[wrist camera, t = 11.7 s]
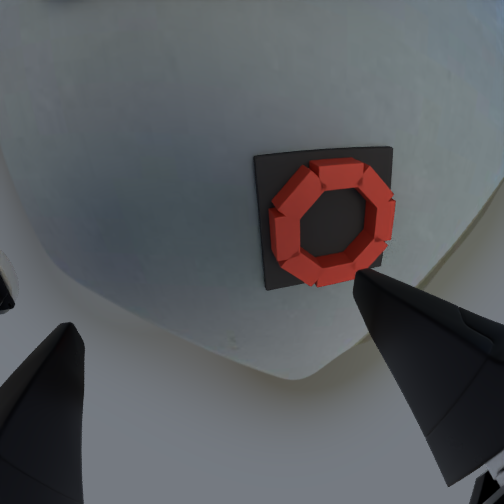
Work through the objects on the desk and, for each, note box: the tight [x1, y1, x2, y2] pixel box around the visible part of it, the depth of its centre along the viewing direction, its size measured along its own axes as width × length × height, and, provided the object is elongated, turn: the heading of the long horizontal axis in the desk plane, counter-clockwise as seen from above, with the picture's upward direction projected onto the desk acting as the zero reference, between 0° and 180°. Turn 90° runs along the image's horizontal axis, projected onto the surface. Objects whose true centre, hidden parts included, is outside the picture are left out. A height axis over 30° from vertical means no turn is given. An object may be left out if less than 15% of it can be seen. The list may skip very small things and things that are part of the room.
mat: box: [254, 147, 393, 291], centre depth 20 cm, size 10×10×1 cm
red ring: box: [269, 157, 396, 287], centre depth 19 cm, size 9×9×2 cm
